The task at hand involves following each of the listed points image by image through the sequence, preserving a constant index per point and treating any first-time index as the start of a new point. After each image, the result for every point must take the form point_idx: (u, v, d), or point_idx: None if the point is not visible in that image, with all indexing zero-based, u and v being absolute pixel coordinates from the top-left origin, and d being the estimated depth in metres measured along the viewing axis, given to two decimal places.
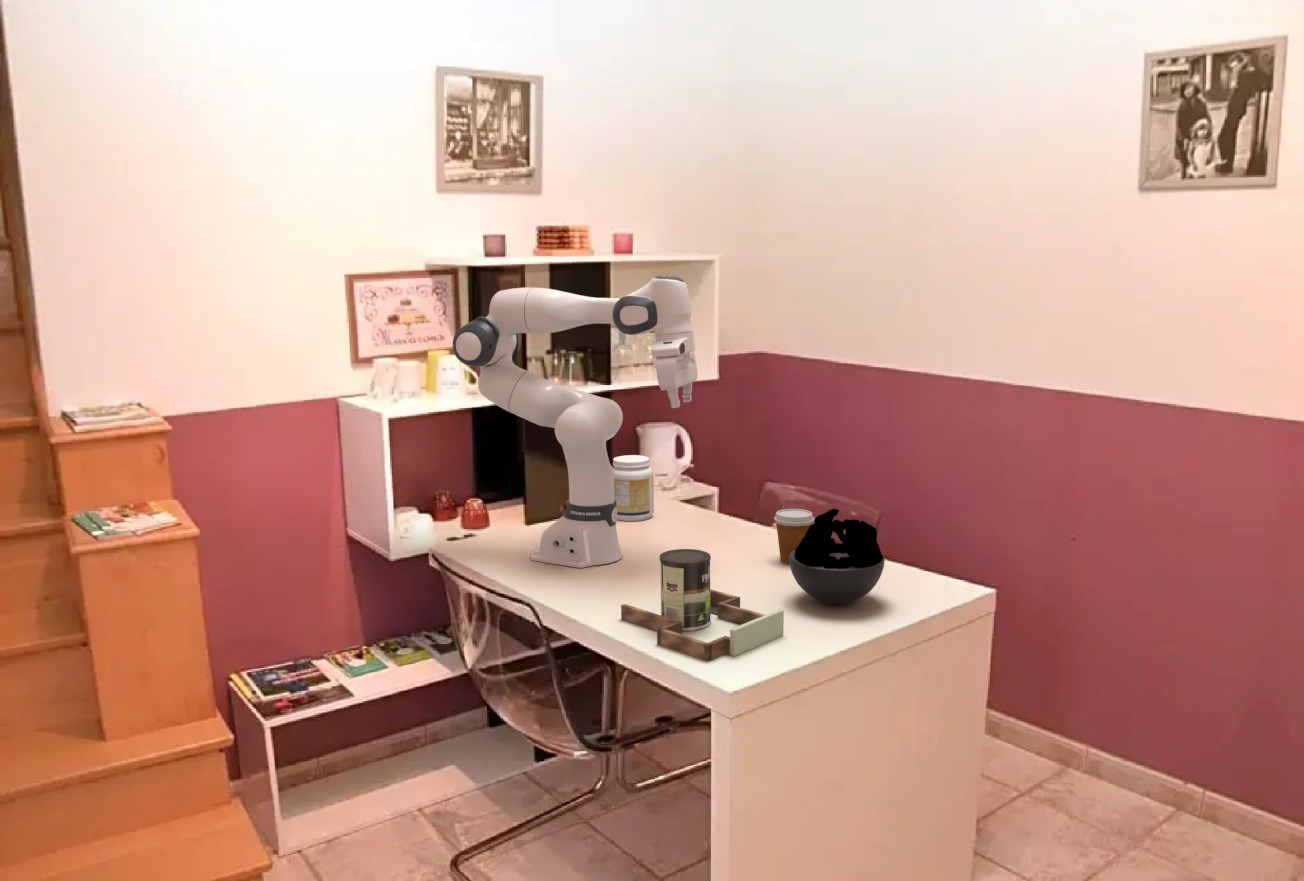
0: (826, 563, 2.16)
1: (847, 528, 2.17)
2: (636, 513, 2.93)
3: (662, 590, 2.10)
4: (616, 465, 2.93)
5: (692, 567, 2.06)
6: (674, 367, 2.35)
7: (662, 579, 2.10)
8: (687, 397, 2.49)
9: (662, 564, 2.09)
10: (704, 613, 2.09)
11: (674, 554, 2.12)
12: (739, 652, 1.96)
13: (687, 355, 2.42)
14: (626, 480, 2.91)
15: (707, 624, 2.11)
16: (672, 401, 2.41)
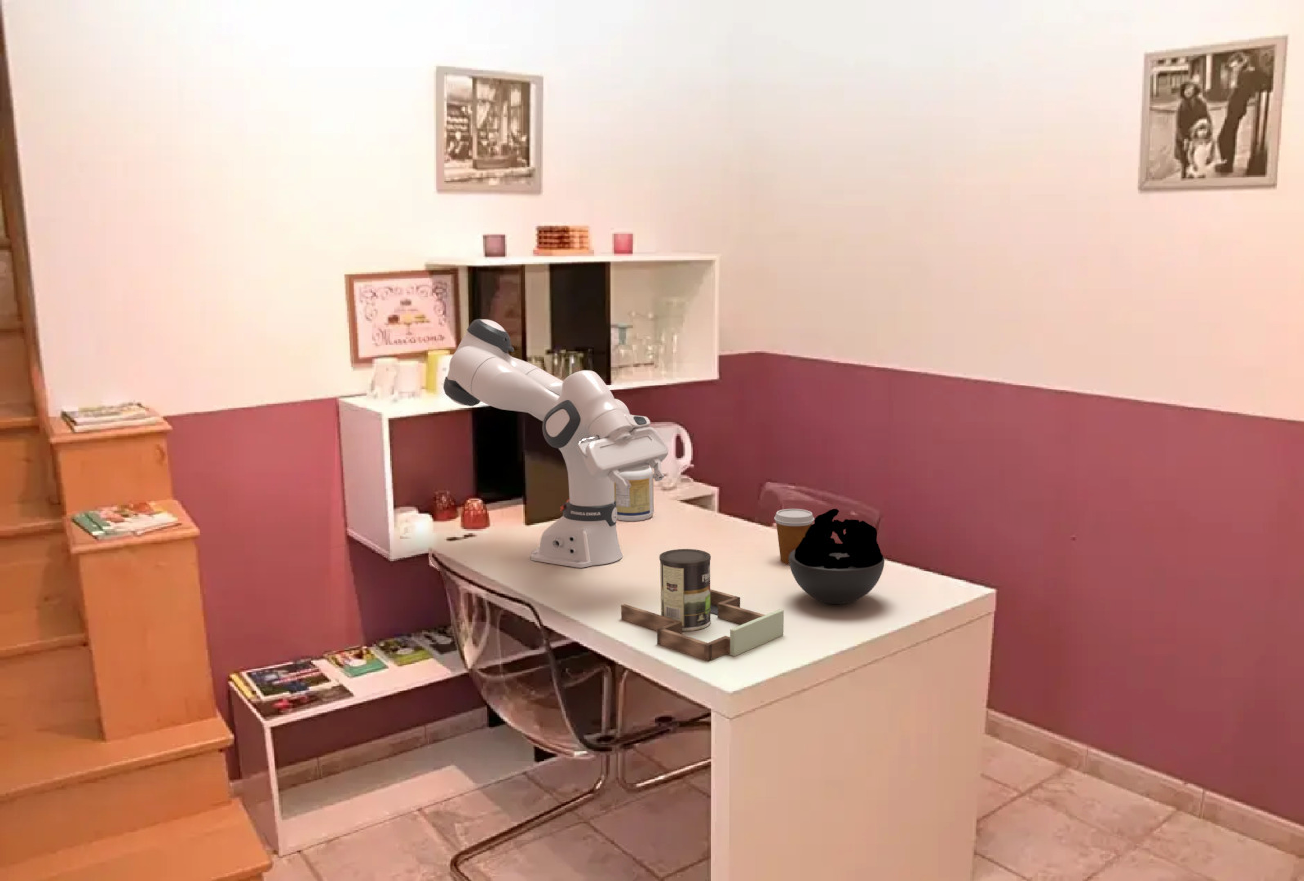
0: (826, 563, 2.16)
1: (847, 528, 2.17)
2: (636, 513, 2.93)
3: (662, 590, 2.10)
4: None
5: (692, 567, 2.06)
6: None
7: (662, 579, 2.10)
8: None
9: (662, 564, 2.09)
10: (704, 613, 2.09)
11: (674, 554, 2.12)
12: (739, 652, 1.96)
13: None
14: None
15: (707, 624, 2.11)
16: None
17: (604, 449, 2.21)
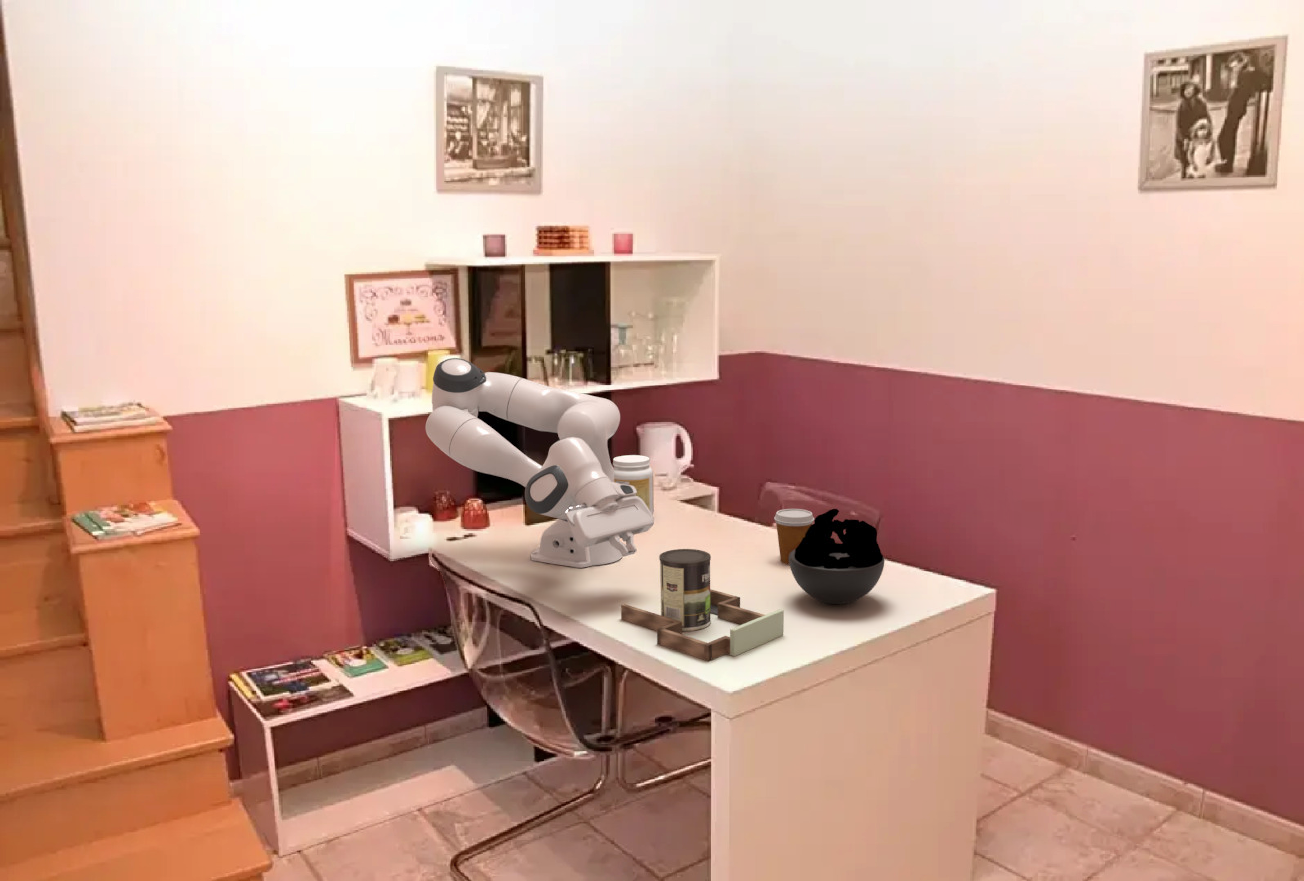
0: (826, 563, 2.16)
1: (847, 528, 2.17)
2: None
3: (662, 590, 2.10)
4: (616, 465, 2.93)
5: (692, 567, 2.06)
6: None
7: (662, 579, 2.10)
8: None
9: (662, 564, 2.09)
10: (704, 613, 2.09)
11: (674, 554, 2.12)
12: (739, 652, 1.96)
13: None
14: (626, 480, 2.91)
15: (707, 624, 2.11)
16: None
17: (591, 518, 2.20)
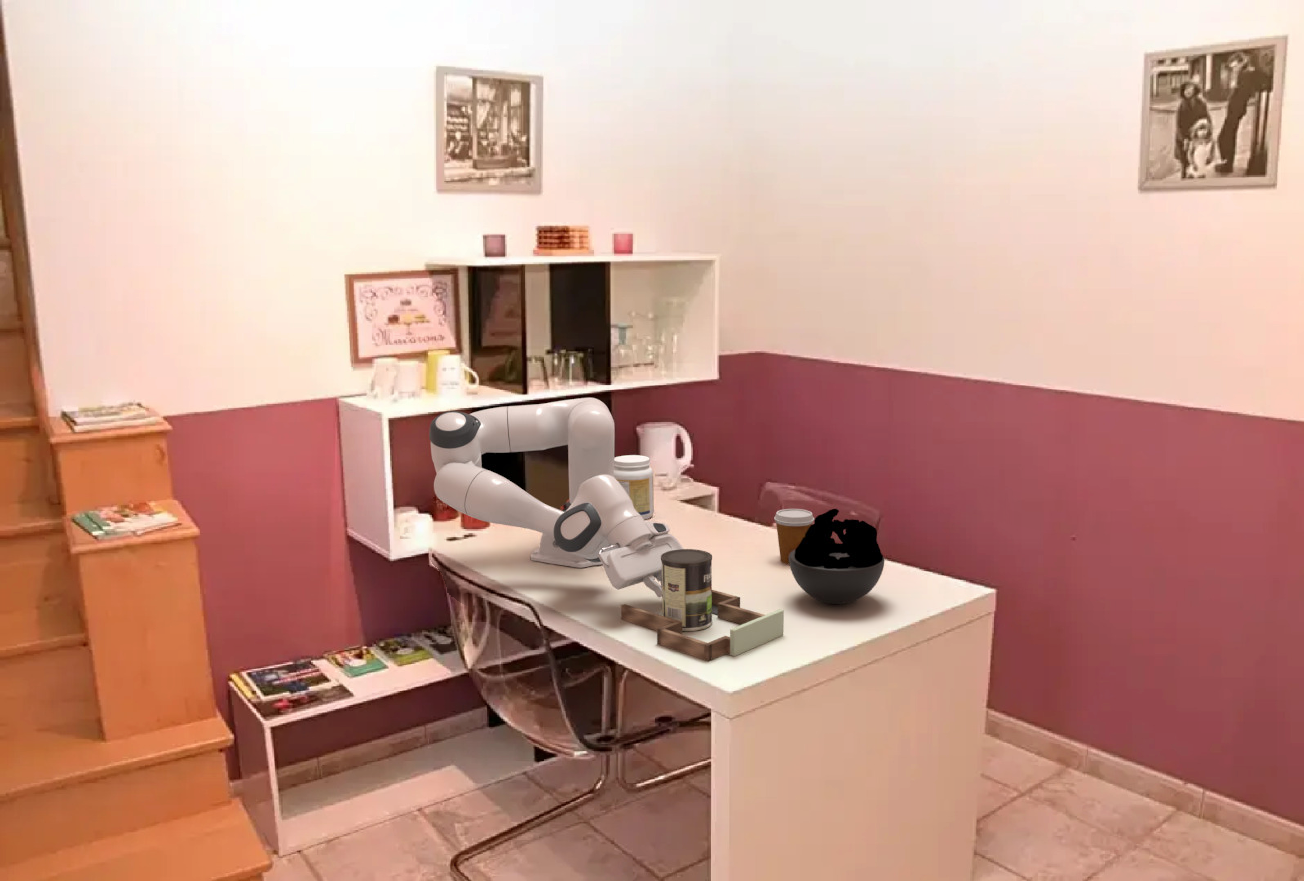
0: (826, 563, 2.16)
1: (847, 528, 2.17)
2: None
3: (663, 590, 2.10)
4: (616, 465, 2.93)
5: (694, 567, 2.06)
6: None
7: (663, 579, 2.10)
8: None
9: (663, 564, 2.09)
10: (705, 613, 2.09)
11: (676, 554, 2.12)
12: (739, 652, 1.96)
13: None
14: (626, 480, 2.91)
15: (708, 624, 2.10)
16: None
17: (625, 558, 2.14)
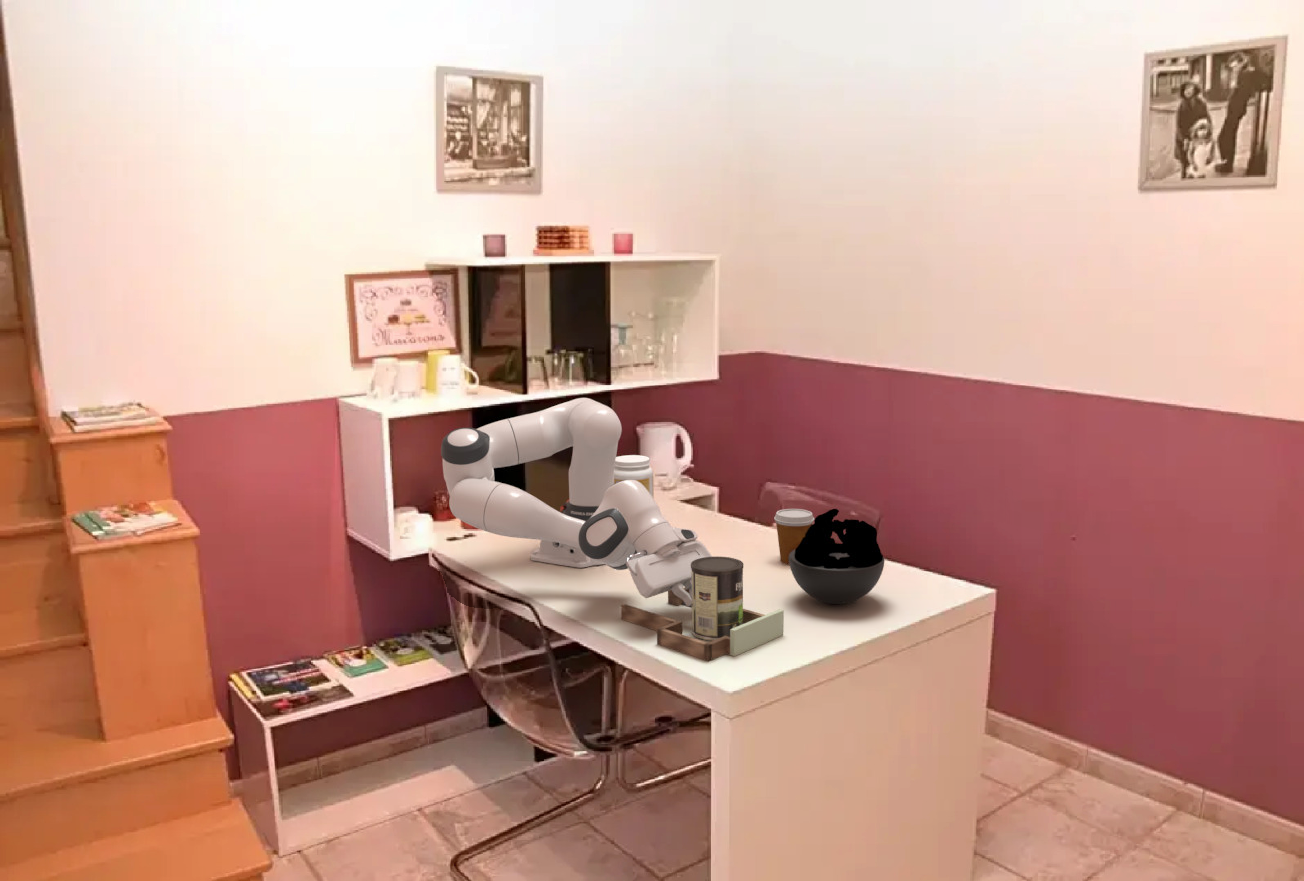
0: (826, 563, 2.16)
1: (847, 528, 2.17)
2: None
3: (694, 599, 2.04)
4: (616, 465, 2.93)
5: (726, 575, 2.01)
6: None
7: (694, 588, 2.04)
8: None
9: (694, 572, 2.03)
10: (737, 622, 2.04)
11: (706, 562, 2.07)
12: (739, 652, 1.96)
13: None
14: None
15: None
16: None
17: (654, 566, 2.09)
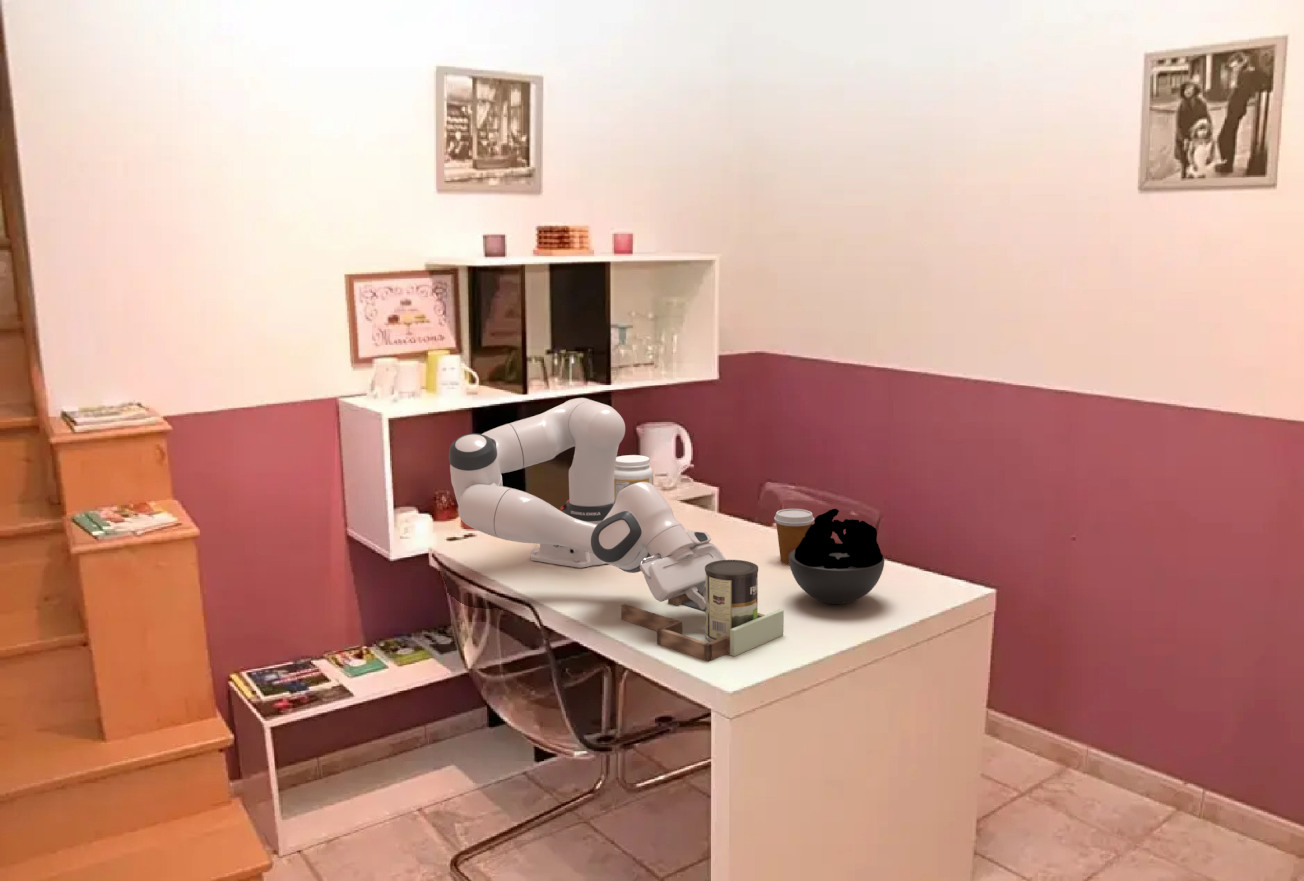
0: (826, 563, 2.16)
1: (847, 528, 2.17)
2: None
3: (708, 603, 2.02)
4: (616, 465, 2.93)
5: (740, 579, 1.98)
6: None
7: (708, 591, 2.02)
8: None
9: (708, 576, 2.01)
10: None
11: (720, 565, 2.04)
12: (739, 652, 1.96)
13: None
14: (626, 480, 2.91)
15: None
16: None
17: (668, 569, 2.07)
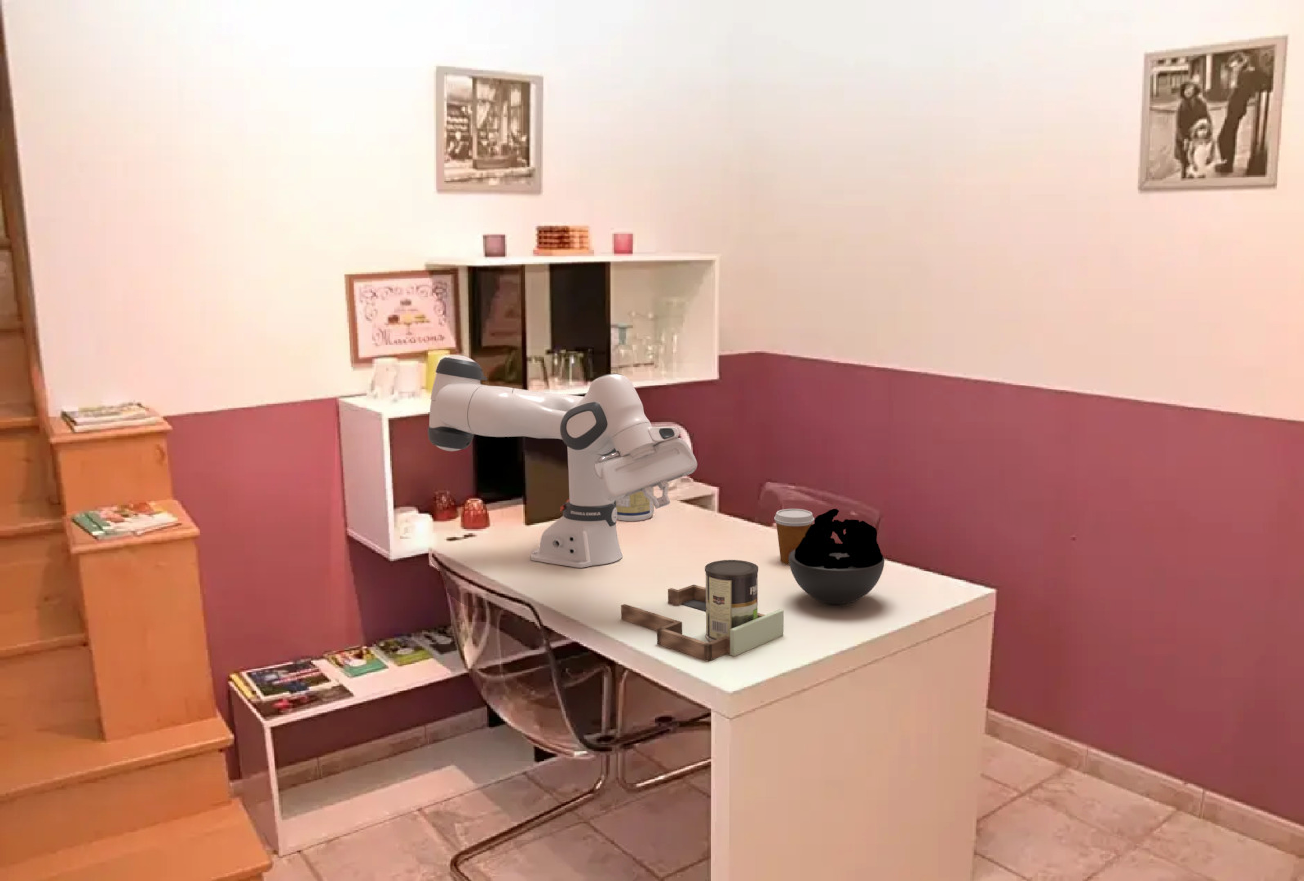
0: (826, 563, 2.16)
1: (847, 528, 2.17)
2: (636, 513, 2.93)
3: (708, 603, 2.02)
4: None
5: (740, 579, 1.98)
6: None
7: (708, 591, 2.02)
8: None
9: (708, 576, 2.01)
10: None
11: (720, 565, 2.04)
12: (739, 652, 1.96)
13: None
14: None
15: None
16: None
17: (621, 470, 2.12)
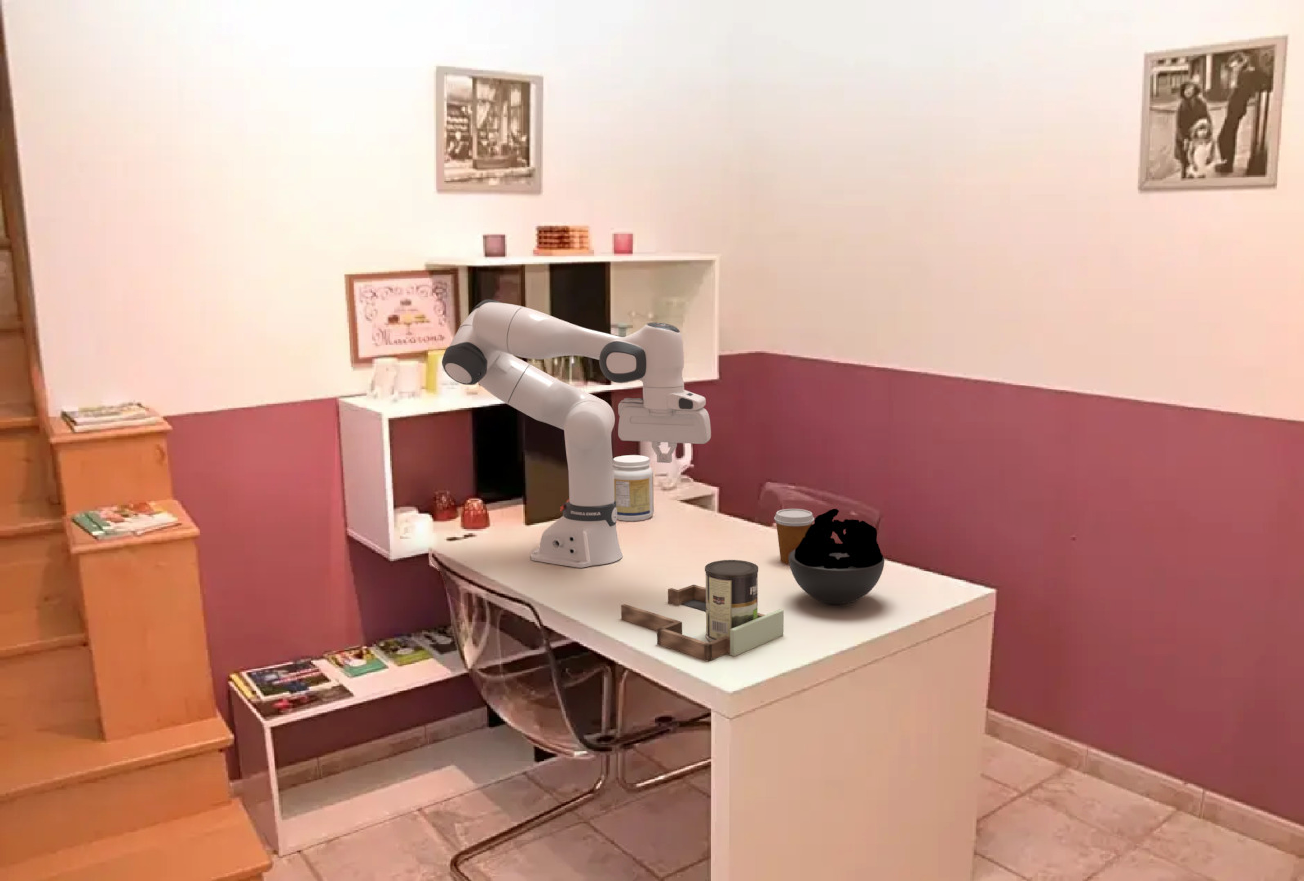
0: (826, 563, 2.16)
1: (847, 528, 2.17)
2: (636, 513, 2.93)
3: (708, 603, 2.02)
4: (616, 465, 2.93)
5: (740, 579, 1.98)
6: None
7: (708, 591, 2.02)
8: None
9: (708, 576, 2.01)
10: None
11: (720, 565, 2.04)
12: (739, 652, 1.96)
13: None
14: (626, 480, 2.91)
15: None
16: (670, 455, 2.27)
17: (636, 419, 2.27)
